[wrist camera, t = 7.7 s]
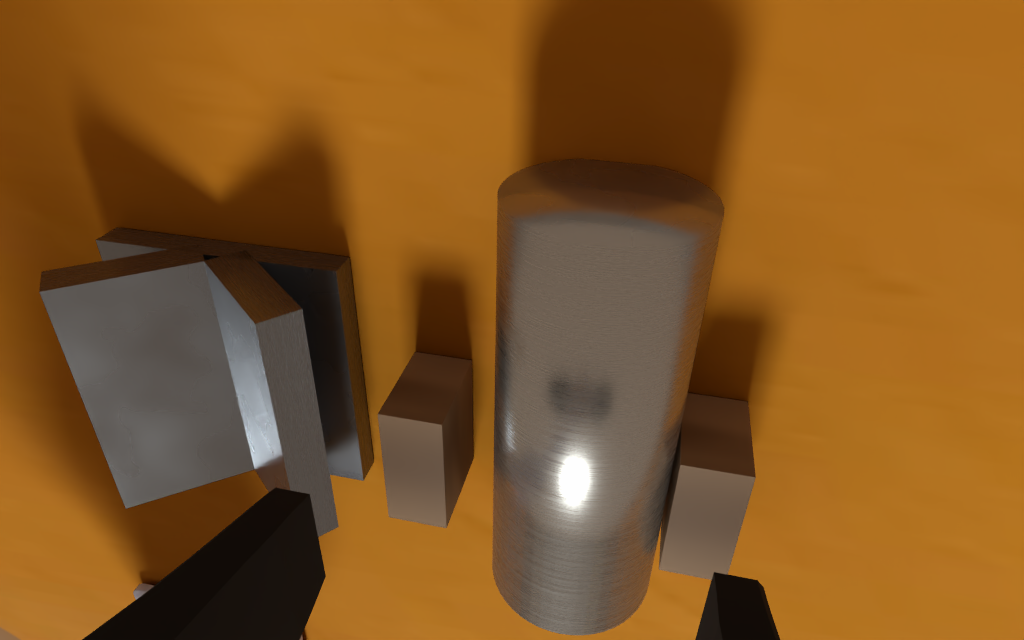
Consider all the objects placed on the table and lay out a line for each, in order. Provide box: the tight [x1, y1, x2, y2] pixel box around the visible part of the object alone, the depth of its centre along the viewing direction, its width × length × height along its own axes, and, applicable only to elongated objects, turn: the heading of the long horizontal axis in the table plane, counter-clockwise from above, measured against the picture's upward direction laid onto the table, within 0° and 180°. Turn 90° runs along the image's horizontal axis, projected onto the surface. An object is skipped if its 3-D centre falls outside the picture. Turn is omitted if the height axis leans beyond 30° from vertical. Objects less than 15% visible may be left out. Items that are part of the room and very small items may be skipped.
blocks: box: [378, 352, 756, 580], centre depth 20 cm, size 4×10×3 cm, turn 89°
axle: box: [492, 159, 724, 635], centre depth 18 cm, size 12×5×5 cm, turn 179°
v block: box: [39, 228, 374, 537], centre depth 21 cm, size 8×8×4 cm
